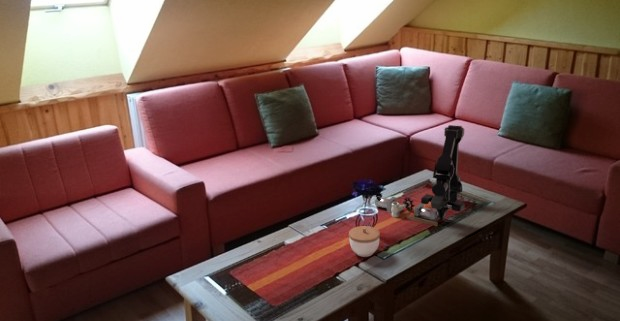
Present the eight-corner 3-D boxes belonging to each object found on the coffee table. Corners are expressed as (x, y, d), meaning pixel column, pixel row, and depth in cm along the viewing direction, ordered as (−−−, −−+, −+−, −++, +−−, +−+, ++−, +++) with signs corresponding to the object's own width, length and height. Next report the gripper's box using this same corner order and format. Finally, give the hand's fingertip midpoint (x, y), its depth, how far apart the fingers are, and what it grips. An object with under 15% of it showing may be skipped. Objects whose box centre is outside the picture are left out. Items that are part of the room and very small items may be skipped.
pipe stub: (374, 208, 256) (374, 197, 254) (380, 204, 260) (380, 193, 259) (390, 212, 251) (390, 201, 249) (396, 208, 255) (396, 197, 253)
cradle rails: (415, 211, 251) (415, 208, 250) (445, 218, 242) (445, 216, 242) (406, 218, 244) (407, 215, 244) (437, 226, 236) (437, 223, 235)
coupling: (414, 219, 244) (414, 207, 242) (419, 214, 248) (419, 203, 246) (434, 224, 238) (434, 212, 236) (439, 219, 242) (439, 207, 240)
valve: (397, 219, 244) (414, 212, 251) (397, 206, 242) (414, 199, 249) (387, 215, 249) (404, 207, 256) (387, 202, 247) (404, 195, 254)
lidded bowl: (345, 257, 213) (345, 233, 209) (353, 243, 224) (353, 220, 220) (375, 262, 209) (375, 237, 205) (382, 247, 220) (382, 223, 216)
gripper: (415, 190, 232) (415, 221, 237) (456, 198, 222) (454, 231, 227) (426, 182, 241) (425, 212, 246) (465, 189, 230) (464, 221, 235)
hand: (441, 219), depth 238 cm, fingers closed
